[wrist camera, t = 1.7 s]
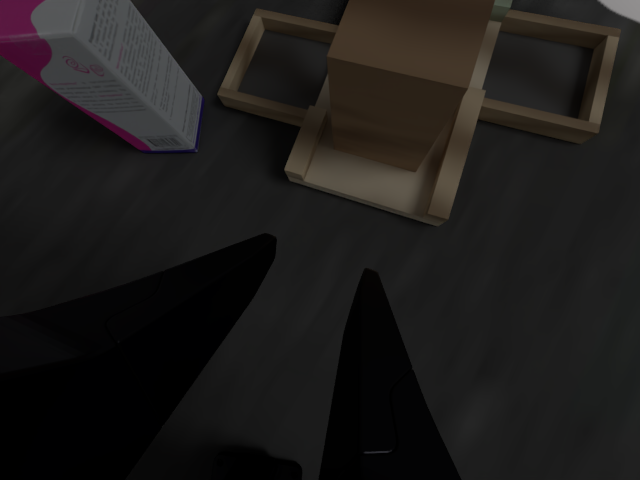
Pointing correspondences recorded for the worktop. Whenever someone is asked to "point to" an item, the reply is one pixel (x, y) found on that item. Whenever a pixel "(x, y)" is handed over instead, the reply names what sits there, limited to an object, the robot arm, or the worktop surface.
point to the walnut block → (401, 74)
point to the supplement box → (106, 68)
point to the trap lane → (454, 140)
